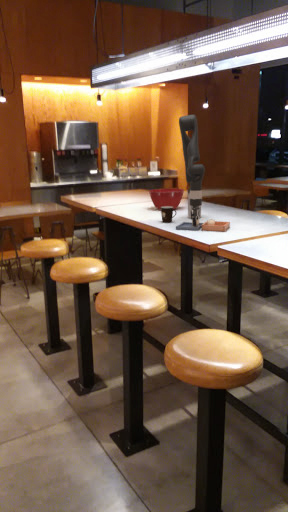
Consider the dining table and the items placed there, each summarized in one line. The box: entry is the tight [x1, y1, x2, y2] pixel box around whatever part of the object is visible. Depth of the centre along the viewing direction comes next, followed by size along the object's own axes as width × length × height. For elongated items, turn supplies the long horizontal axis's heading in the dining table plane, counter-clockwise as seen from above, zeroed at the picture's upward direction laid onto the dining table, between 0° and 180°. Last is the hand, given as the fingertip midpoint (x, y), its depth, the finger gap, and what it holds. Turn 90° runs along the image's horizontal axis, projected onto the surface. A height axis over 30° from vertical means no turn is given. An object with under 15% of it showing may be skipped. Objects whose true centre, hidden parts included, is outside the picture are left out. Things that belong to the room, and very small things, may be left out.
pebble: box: [191, 219, 200, 227], centre depth 261 cm, size 4×4×4 cm
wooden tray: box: [201, 220, 231, 233], centre depth 257 cm, size 14×14×4 cm
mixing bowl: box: [148, 188, 185, 211], centre depth 338 cm, size 28×28×16 cm
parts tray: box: [175, 221, 205, 232], centre depth 263 cm, size 16×14×2 cm
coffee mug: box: [160, 206, 177, 224], centre depth 282 cm, size 12×9×10 cm
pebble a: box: [206, 219, 216, 225], centre depth 258 cm, size 4×4×4 cm
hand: (195, 225), depth 262 cm, fingers closed on pebble, 4 cm apart
